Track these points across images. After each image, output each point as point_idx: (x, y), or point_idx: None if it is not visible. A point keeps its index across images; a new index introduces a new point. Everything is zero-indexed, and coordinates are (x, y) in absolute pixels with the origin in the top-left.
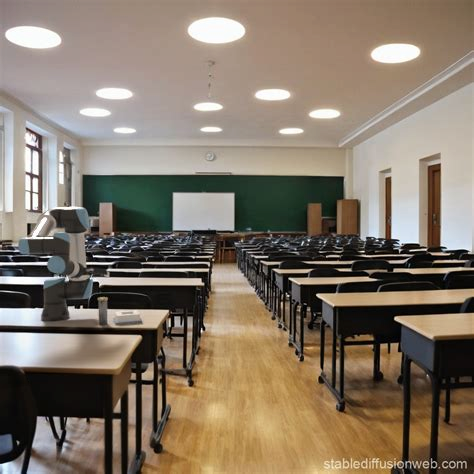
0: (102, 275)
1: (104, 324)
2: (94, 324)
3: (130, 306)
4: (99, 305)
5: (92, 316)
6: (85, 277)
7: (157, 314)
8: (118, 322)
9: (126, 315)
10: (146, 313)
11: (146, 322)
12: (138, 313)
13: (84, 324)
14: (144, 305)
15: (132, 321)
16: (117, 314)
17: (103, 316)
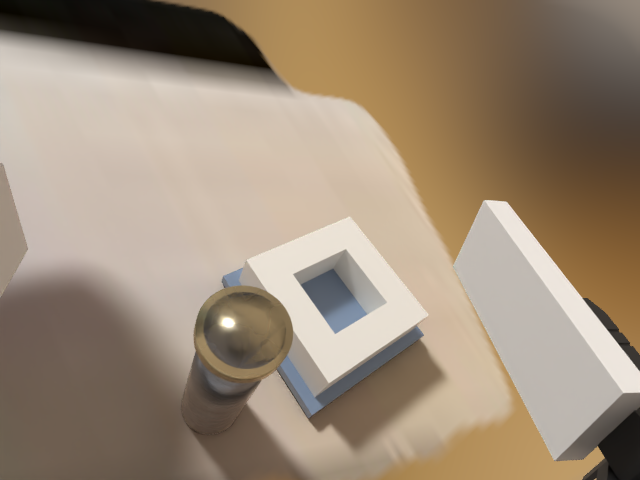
0: (555, 437)
1: (231, 424)
2: (145, 418)
3: (169, 25)
4: (219, 388)
5: (29, 200)
6: (7, 228)
7: (378, 172)
8: (321, 395)
9: (373, 353)
10: (319, 152)
11: (429, 325)
12: (410, 298)
13: (59, 431)
14: (228, 21)
15: (385, 357)
16: (304, 337)
17: (237, 412)
